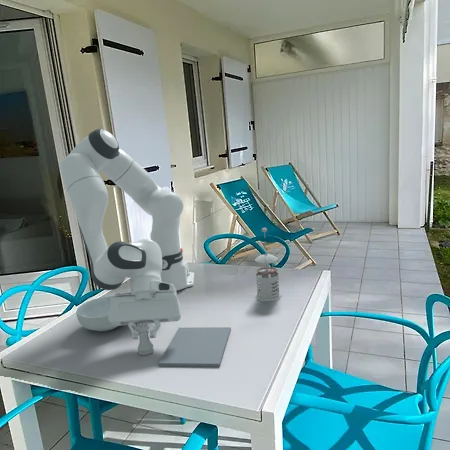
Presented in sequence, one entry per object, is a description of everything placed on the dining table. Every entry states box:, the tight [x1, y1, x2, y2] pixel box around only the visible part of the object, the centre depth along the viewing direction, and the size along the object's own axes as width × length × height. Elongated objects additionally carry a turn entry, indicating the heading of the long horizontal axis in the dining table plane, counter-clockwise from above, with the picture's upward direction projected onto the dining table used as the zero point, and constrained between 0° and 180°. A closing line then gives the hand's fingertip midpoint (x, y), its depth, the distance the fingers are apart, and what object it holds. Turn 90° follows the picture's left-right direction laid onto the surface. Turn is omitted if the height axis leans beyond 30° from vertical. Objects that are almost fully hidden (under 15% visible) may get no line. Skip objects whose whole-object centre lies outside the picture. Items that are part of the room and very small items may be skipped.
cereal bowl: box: [75, 295, 118, 332], centre depth 130 cm, size 17×17×7 cm
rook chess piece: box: [136, 323, 155, 356], centre depth 112 cm, size 4×4×8 cm
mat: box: [158, 326, 232, 368], centre depth 113 cm, size 20×16×1 cm
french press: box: [254, 227, 283, 302], centre depth 143 cm, size 10×12×25 cm
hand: (143, 338), depth 111 cm, fingers open, 3 cm apart
